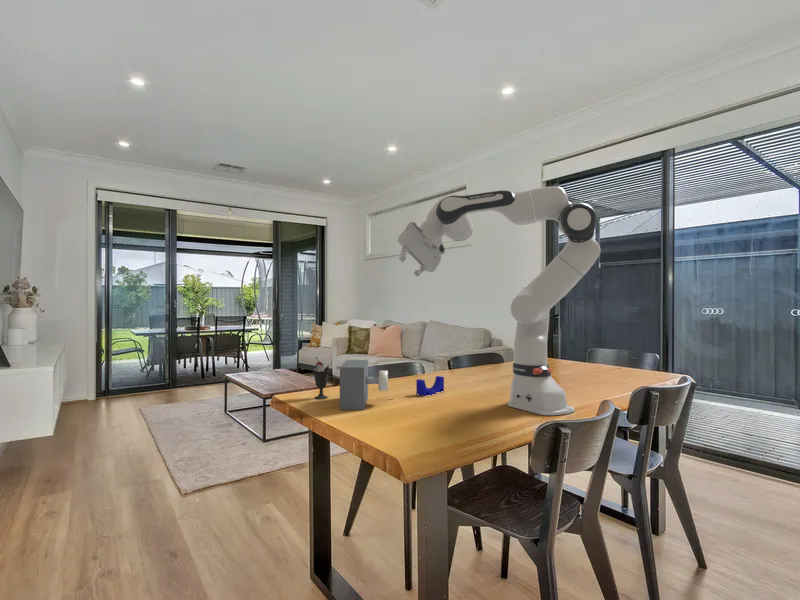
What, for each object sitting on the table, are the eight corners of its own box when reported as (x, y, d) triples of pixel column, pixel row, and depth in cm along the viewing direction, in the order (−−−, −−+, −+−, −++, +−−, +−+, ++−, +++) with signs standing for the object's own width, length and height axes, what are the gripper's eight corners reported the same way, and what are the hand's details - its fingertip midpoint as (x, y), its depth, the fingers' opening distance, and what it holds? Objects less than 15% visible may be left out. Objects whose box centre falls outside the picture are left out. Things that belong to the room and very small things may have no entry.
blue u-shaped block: (424, 397, 161) (424, 381, 161) (416, 395, 164) (416, 379, 164) (446, 392, 169) (446, 377, 169) (438, 391, 172) (438, 376, 172)
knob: (387, 388, 154) (387, 369, 154) (387, 392, 147) (387, 372, 147) (362, 388, 154) (362, 368, 154) (361, 392, 147) (361, 372, 147)
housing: (368, 397, 159) (368, 359, 159) (363, 410, 141) (364, 367, 141) (346, 397, 159) (346, 359, 159) (339, 409, 141) (339, 367, 141)
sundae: (309, 396, 160) (309, 356, 160) (327, 395, 163) (327, 355, 163) (314, 400, 154) (314, 358, 154) (332, 398, 157) (332, 357, 157)
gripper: (417, 219, 149) (397, 252, 146) (447, 254, 162) (429, 284, 159) (406, 218, 153) (385, 250, 150) (436, 252, 166) (418, 281, 163)
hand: (408, 268), depth 155 cm, fingers open, 8 cm apart
